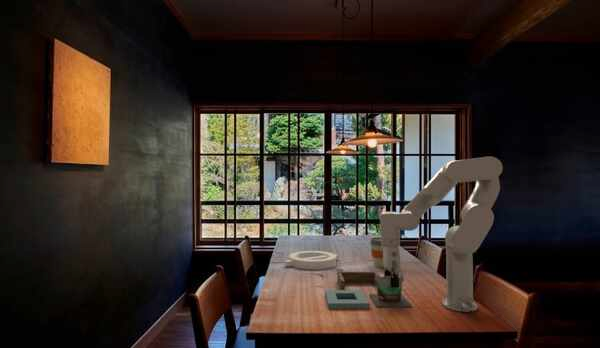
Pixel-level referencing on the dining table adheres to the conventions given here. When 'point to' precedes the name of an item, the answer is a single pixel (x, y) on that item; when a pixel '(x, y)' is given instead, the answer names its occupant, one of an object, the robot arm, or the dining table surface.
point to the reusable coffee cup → (377, 252)
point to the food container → (388, 289)
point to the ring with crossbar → (312, 260)
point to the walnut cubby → (355, 278)
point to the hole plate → (346, 299)
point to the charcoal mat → (379, 303)
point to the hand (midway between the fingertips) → (391, 283)
